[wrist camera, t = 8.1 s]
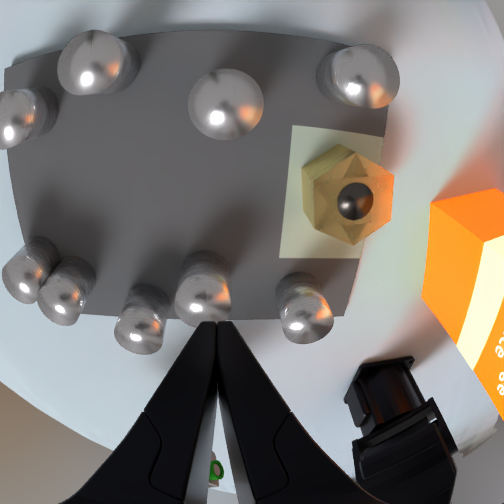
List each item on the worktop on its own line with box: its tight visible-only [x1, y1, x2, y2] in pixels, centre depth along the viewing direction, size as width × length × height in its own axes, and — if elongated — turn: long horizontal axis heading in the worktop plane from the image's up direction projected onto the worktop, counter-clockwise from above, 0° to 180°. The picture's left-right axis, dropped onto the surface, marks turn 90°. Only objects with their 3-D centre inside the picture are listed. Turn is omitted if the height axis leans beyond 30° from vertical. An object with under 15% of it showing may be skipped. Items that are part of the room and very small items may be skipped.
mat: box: [4, 30, 392, 320], centre depth 16 cm, size 23×18×1 cm
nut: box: [301, 143, 394, 246], centre depth 15 cm, size 4×5×3 cm
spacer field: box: [0, 30, 400, 355], centre depth 15 cm, size 22×18×4 cm
